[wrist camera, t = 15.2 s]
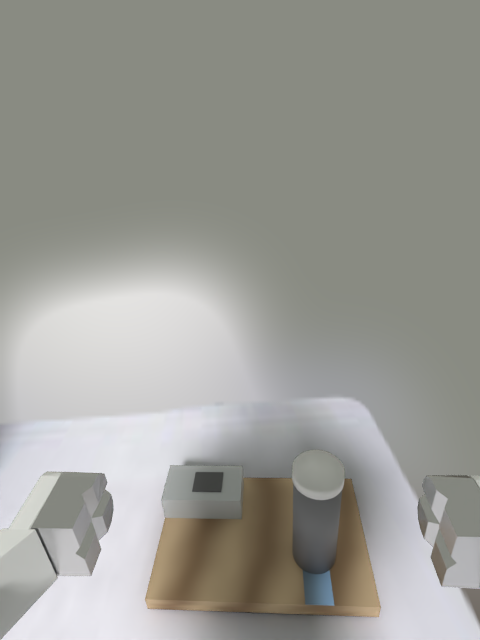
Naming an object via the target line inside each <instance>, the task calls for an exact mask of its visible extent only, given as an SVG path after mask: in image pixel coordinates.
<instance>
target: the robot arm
mask: <svg viewBox="0 0 480 640" xmlns="http://www.w3.org/2000/svg"><path fill="white" fill-rule="evenodd" d="M106 485H107V480H106V477H105V474H102V473H79V472H46V473H44V474H43V475H42V476H41V477H40V478H39V480H38V482H37V483H36V485H35V486H34V488H33V490H32V491H31V493H30V494H29V496H28V498H27V499H26V501H25V503H24V504H23V506H22V507H21V509H20V511H19V512H18V514H17V515H16V517H15V519H14V520H13V522H12V524H11V525H10V527H9V528H8V529H2V530H0V640H1V639H2V638H3V636H4V635H5V634H6V633H7V632H8V631H9V630H10V629H11V628H12V627H13V626H14V625H15V624H16V622H17V621H18V620H19V619H20V618H21V617H22V616H23V615H24V614H25V613H26V612H27V611H28V610H29V609H30V607H31V606H32V605H33V604H34V603H35V602H36V601H37V600H38V599H39V598H40V597H41V596H42V595H43V593H44V592H45V591H46V590H47V589H48V588H49V587H50V586H51V585H52V584H53V583H54V582H55V581H56V580H57V578H58V577H57V576H91V575H92V572H93V570H94V567H95V564H96V562H97V559H98V556H99V554H100V551H101V547H100V544H99V540H100V539H101V538H102V537H103V536H104V535H105V534H106V533H107V532H108V530H109V527H110V524H111V521H112V515H113V499H112V496H111V494H110V493H109V492H108V491H106V490H105V487H106ZM422 487H423V489H424V492H425V494H424V495H423V496H422V497H420V498H419V502H418V520H419V525H420V529H421V532H422V534H423V537H424V539H425V540H426V541H427V542H428V543H429V544H430V545H431V546H432V547H433V551H432V555H431V559H432V562H433V565H434V567H435V570H436V573H437V576H438V578H439V581H440V584H441V586H442V587H458V588H476V589H477V588H478V589H480V476H467V475H446V476H445V475H438V476H437V475H432V476H431V475H427V476H426V477H425V478H424V480H423V484H422Z"/></svg>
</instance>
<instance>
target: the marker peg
mask: <svg viewBox="0 0 480 640" xmlns="http://www.w3.org/2000/svg"><path fill="white" fill-rule="evenodd" d="M344 479H345V469H344V466H343V464H342V462H341V461H340V460H339V459H338V458H337V457H336V456H334V455H333V454H331V453H329V452H326V451H323V450H308V451H305V452H303V453H301V454H299V455H298V456H297V457H296V458H295V460H294V461H293V464H292V481H293V545H292V552H293V557H294V560H295V562H296V563H297V565H298V566H299V567H300V568H301V569H303V570H304V571H306V572H308V573H311V574H323V573H325V572H327V571H329V570H330V569H331V568H332V567H333V565H334V563H335V559H336V550H337V539H338V529H339V518H340V508H341V497H342V489H343V486H344Z"/></svg>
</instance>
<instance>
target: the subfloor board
mask: <svg viewBox="0 0 480 640" xmlns="http://www.w3.org/2000/svg"><path fill="white" fill-rule="evenodd" d="M292 545H293V481H292V478H244V490H243V507H242V519H199V518H165V521H164V525H163V529H162V533H161V537H160V541H159V545H158V549H157V553H156V557H155V561H154V565H153V569H152V573H151V577H150V581H149V585H148V590H147V594H146V598H145V601H146V604H147V607H148V609H171V610H199V611H227V612H255V613H283V614H311V615H339V616H367V617H379V613H380V608H381V606H380V602H379V598H378V593H377V589H376V585H375V580H374V576H373V571H372V567H371V563H370V558H369V554H368V549H367V545H366V541H365V536H364V532H363V528H362V523H361V519H360V514H359V510H358V506H357V501H356V497H355V493H354V488H353V484H352V479H344V486H343V489H342V497H341V508H340V518H339V529H338V539H337V550H336V559H335V563H334V565H333V567H332V568H331V569H330V570H329V571H327V572H325V573H323V574H311V573H308V572H306V571H304V570H303V569H301V568H300V567H299V566H298V565H297V563H296V562H295V560H294V557H293V552H292Z"/></svg>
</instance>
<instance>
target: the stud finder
mask: <svg viewBox="0 0 480 640" xmlns="http://www.w3.org/2000/svg"><path fill="white" fill-rule="evenodd" d="M243 490H244V478H243V466H193V465H170V469H169V473H168V476H167V480H166V484H165V488H164V491H163V495H162V499H161V501H162V506H163V510H164V515H165V518H199V519H242V507H243Z"/></svg>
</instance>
